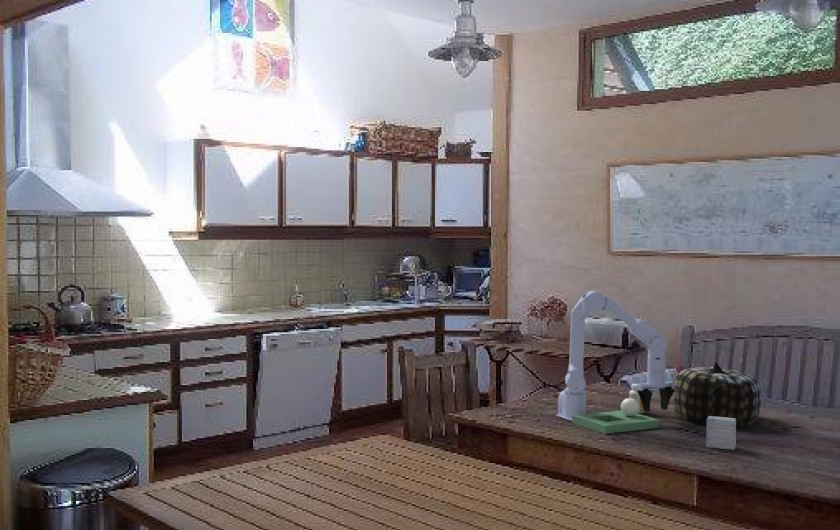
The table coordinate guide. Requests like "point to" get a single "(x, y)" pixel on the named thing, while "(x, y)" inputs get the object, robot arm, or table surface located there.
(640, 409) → the supplement bottle
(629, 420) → the putting board
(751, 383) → the decorative pumpkin
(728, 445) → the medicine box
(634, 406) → the white ball
